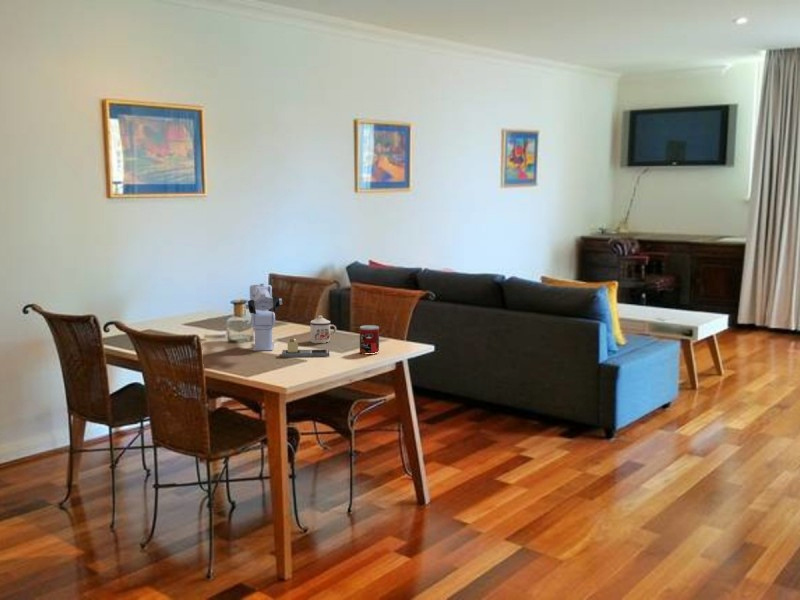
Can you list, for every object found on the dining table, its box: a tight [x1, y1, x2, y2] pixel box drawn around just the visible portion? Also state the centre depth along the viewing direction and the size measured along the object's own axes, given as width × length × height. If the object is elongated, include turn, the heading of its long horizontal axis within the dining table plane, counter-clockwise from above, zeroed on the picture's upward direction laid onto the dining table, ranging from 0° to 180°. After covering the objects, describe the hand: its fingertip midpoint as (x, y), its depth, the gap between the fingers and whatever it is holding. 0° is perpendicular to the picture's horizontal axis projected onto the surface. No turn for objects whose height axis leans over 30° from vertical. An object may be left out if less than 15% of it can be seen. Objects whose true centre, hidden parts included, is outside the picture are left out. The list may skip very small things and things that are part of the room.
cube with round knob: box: [287, 337, 299, 353], centre depth 318 cm, size 4×4×7 cm
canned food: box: [359, 324, 380, 354], centre depth 324 cm, size 8×8×11 cm
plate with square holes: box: [281, 348, 330, 358], centre depth 319 cm, size 7×19×2 cm, turn 95°
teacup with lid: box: [309, 315, 337, 344], centre depth 347 cm, size 12×9×12 cm
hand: (264, 310), depth 308 cm, fingers open, 7 cm apart
